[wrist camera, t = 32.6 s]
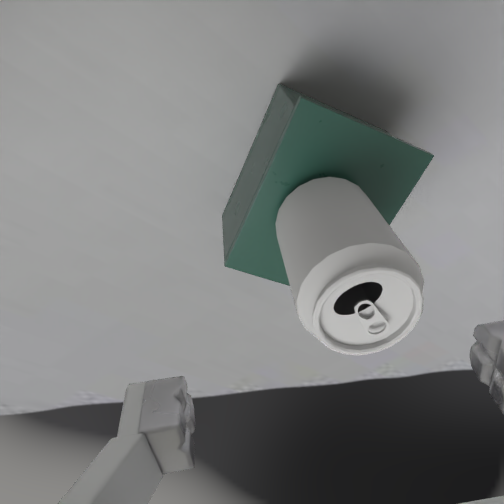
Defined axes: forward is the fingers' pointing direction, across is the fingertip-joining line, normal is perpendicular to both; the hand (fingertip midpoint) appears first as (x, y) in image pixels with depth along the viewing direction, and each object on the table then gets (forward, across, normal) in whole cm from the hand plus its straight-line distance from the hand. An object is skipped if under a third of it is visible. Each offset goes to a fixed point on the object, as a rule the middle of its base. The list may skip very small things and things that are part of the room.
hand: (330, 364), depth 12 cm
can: (+21, -4, +7) cm, 23 cm away
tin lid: (+22, -5, +7) cm, 23 cm away
